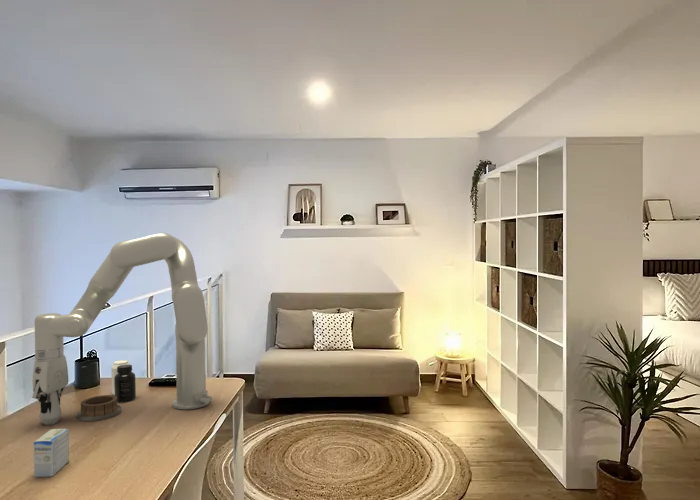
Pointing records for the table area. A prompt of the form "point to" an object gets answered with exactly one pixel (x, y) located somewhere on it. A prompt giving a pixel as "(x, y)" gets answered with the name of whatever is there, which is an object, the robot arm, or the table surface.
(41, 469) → the medicine box
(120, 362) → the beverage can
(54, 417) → the salt shaker
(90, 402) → the walnut sleeve
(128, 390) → the supplement bottle
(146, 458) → the table surface
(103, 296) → the robot arm
